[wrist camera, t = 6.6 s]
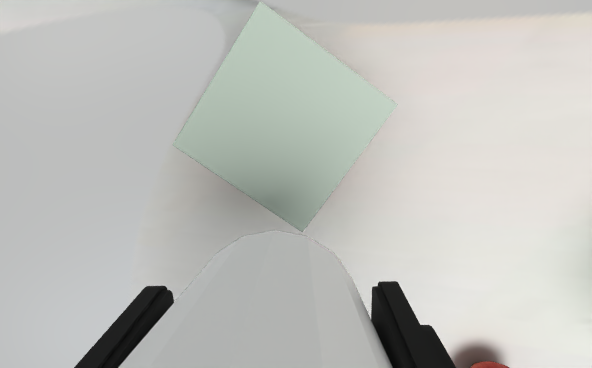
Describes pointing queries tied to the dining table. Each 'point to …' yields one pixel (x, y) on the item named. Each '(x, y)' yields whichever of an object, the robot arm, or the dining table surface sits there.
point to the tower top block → (283, 119)
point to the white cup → (265, 312)
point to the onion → (488, 365)
